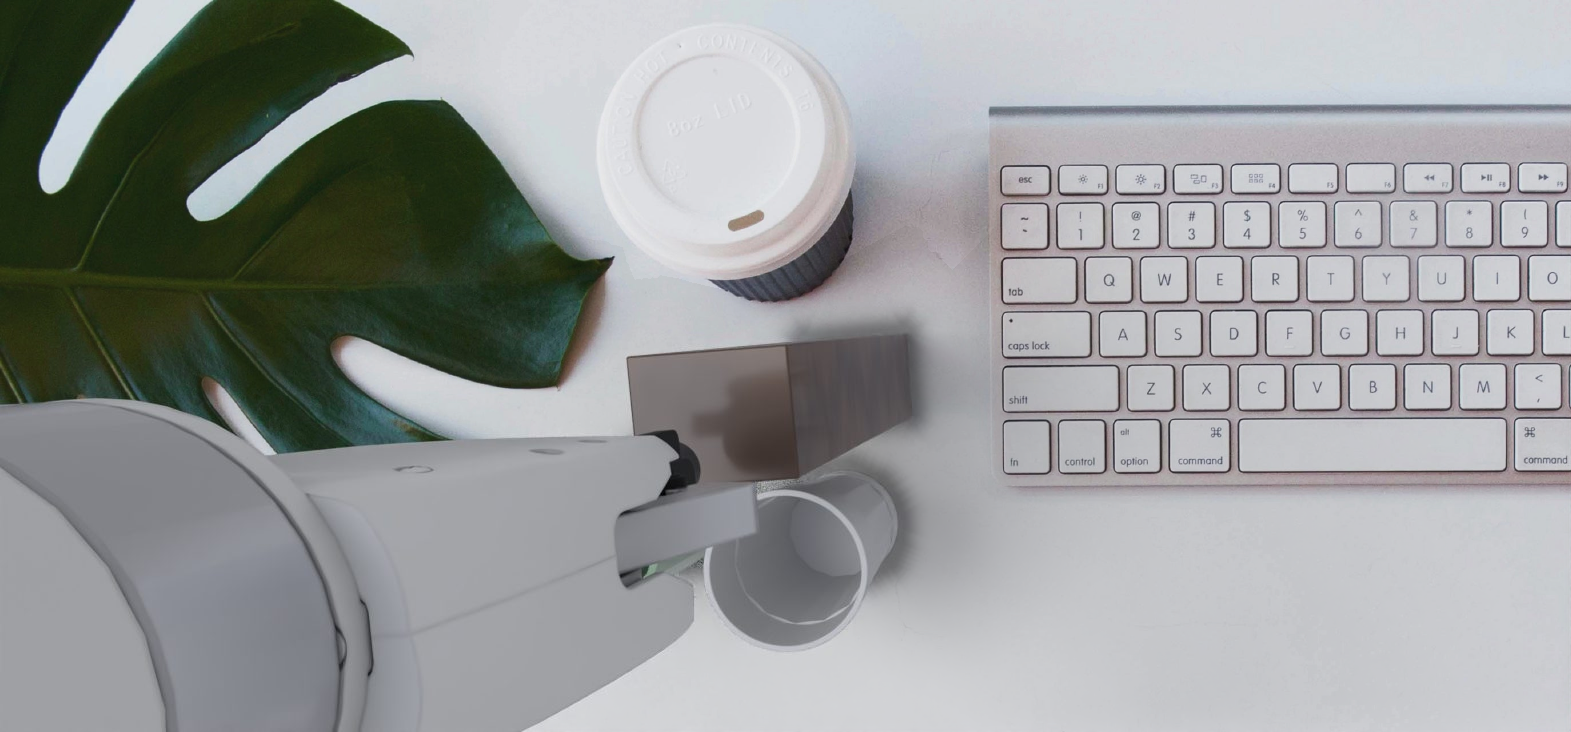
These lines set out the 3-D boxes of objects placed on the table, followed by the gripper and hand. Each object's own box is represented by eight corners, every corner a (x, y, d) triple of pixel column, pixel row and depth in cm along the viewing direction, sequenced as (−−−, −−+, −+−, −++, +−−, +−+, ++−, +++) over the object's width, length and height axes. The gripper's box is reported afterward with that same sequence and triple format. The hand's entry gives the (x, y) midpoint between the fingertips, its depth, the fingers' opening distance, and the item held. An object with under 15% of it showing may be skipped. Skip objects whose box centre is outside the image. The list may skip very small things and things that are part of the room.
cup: (779, 590, 64) (705, 653, 52) (776, 457, 64) (700, 490, 52) (913, 588, 64) (869, 651, 52) (910, 455, 64) (865, 488, 52)
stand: (913, 416, 64) (799, 478, 40) (812, 424, 64) (638, 491, 40) (906, 332, 63) (786, 344, 39) (805, 340, 64) (624, 356, 40)
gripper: (-551, 1012, 14) (377, 627, 33) (640, 924, 14) (899, 588, 33) (-626, 451, 14) (352, 381, 32) (588, 359, 14) (878, 341, 32)
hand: (624, 485), depth 32 cm, fingers closed
